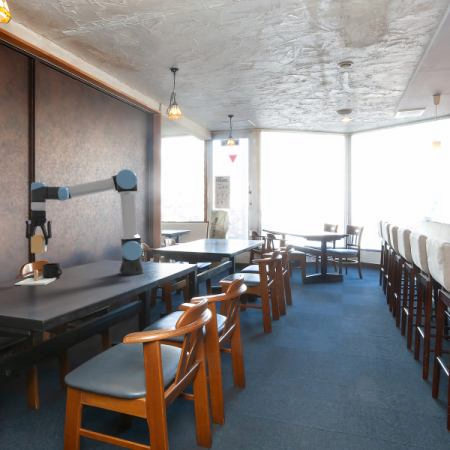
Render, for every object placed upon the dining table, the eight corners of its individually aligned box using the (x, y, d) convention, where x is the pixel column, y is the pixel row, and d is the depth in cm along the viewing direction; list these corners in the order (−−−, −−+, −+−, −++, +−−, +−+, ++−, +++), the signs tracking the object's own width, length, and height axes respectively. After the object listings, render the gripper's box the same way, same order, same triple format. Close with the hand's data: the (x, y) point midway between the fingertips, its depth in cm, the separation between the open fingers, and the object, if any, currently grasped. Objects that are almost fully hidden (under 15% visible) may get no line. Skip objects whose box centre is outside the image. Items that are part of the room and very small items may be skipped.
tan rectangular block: (46, 251, 213) (46, 234, 213) (42, 252, 207) (42, 235, 207) (35, 251, 213) (35, 234, 212) (31, 252, 207) (30, 235, 206)
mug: (56, 281, 215) (56, 265, 214) (38, 280, 218) (38, 265, 217) (67, 278, 224) (66, 263, 224) (50, 277, 227) (49, 262, 226)
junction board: (58, 278, 222) (58, 266, 222) (45, 284, 202) (44, 272, 202) (30, 278, 221) (30, 267, 220) (14, 285, 201) (14, 272, 201)
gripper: (58, 210, 213) (58, 250, 214) (24, 209, 212) (24, 250, 213) (53, 210, 206) (53, 251, 207) (17, 209, 205) (18, 251, 205)
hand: (38, 250), depth 210 cm, fingers closed on tan rectangular block, 6 cm apart
